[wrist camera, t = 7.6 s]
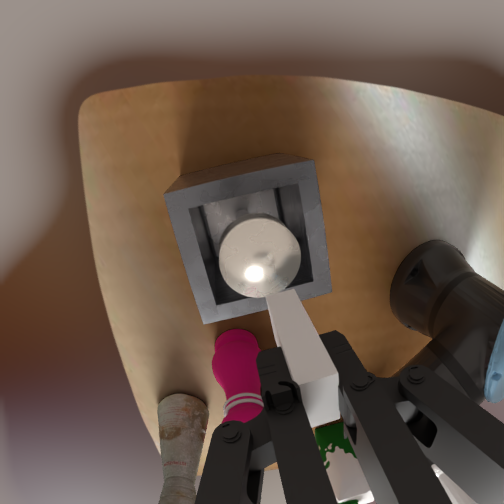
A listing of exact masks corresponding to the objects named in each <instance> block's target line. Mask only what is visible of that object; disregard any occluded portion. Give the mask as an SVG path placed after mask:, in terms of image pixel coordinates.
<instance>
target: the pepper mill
mask: <svg viewBox="0 0 504 504" xmlns="http://www.w3.org/2000/svg"><path fill="white" fill-rule="evenodd" d="M260 351H261V350H260V349H259V347H258V343H257V340H256V338H255V336H254V335H253V334H252V333H250V332H248V331H246V330H243V329H232V330H228V331H226V332H224V333H222V334H221V335H220V336H219V337H218V338H217V340H216V342H215V354H214V356H213V360H212V369H213V374H214V376H215V378H216V380H217V382H218V383H219V384H220V385H221V386H222V388H223V389H224V391H225V394H226V398H227V401H226V402H225V404H224V407H223V410H224V417H225V418H224V419H223V421H222V423H224V422H226V421H232V420H236V421H241V422H243V423H245V422H247V421H249V420H251V419H253V418H255V417H256V416H257V415H258V414H260V413H261V411H262V409H263V407H264V404H263V401H262V397H261V394H260V387H261V383H260V379H259V374H258V369H257V364H256V358H257V355H258V352H260ZM222 423H221V424H222Z"/></svg>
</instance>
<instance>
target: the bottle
mask: <svg viewBox="0 0 504 504" xmlns="http://www.w3.org/2000/svg"><path fill="white" fill-rule="evenodd" d="M208 419H209V411H208V408H207V407H206V405H205V404H204V403H203V401H202V400H199V399H198V397H197V398H196V397H193V396H190V395H186V394H173V395H170V396H167V397H166V398H164V399H163V400H162V401H161V402H160V404H159V405H158V422H159V436H160V448H161V458H162V466H163V475H164V481H165V482H164V485H163V490H162V492H161V496H160V501H159V503H158V504H195V500H196V491H195V486H194V484H195V480H196V476H197V471H198V466H199V461H200V457H201V452H202V448H203V443H204V439H205V434H206V429H207V424H208Z"/></svg>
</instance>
